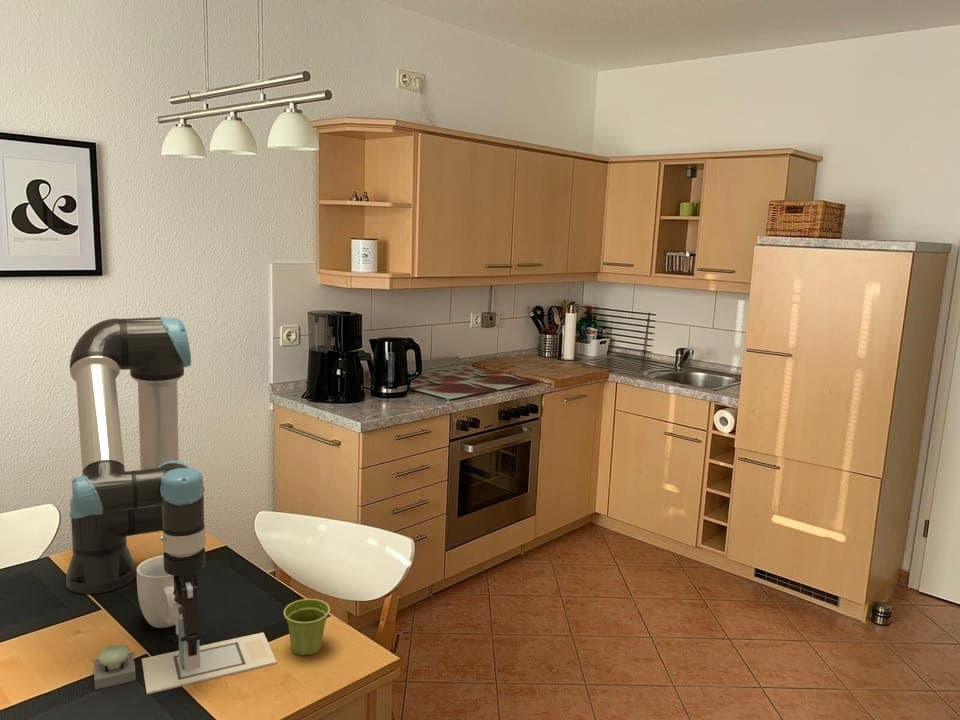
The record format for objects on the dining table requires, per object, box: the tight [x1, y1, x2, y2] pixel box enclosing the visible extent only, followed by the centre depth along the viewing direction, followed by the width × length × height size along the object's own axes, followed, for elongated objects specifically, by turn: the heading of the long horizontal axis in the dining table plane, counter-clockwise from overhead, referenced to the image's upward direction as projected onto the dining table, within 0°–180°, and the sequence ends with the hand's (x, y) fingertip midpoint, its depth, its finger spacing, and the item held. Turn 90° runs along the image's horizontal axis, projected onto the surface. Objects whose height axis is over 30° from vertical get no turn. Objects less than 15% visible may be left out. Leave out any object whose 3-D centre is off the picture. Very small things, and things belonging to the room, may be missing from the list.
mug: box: [136, 554, 178, 629], centre depth 162 cm, size 15×11×13 cm
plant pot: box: [283, 598, 331, 656], centre depth 155 cm, size 9×9×9 cm
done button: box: [98, 644, 130, 671], centre depth 144 cm, size 5×5×4 cm
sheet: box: [141, 631, 278, 695], centre depth 150 cm, size 12×24×1 cm, turn 118°
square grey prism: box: [177, 606, 185, 669], centre depth 147 cm, size 3×3×12 cm
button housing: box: [93, 651, 137, 691], centre depth 144 cm, size 7×7×2 cm
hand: (187, 649), depth 147 cm, fingers open, 13 cm apart
